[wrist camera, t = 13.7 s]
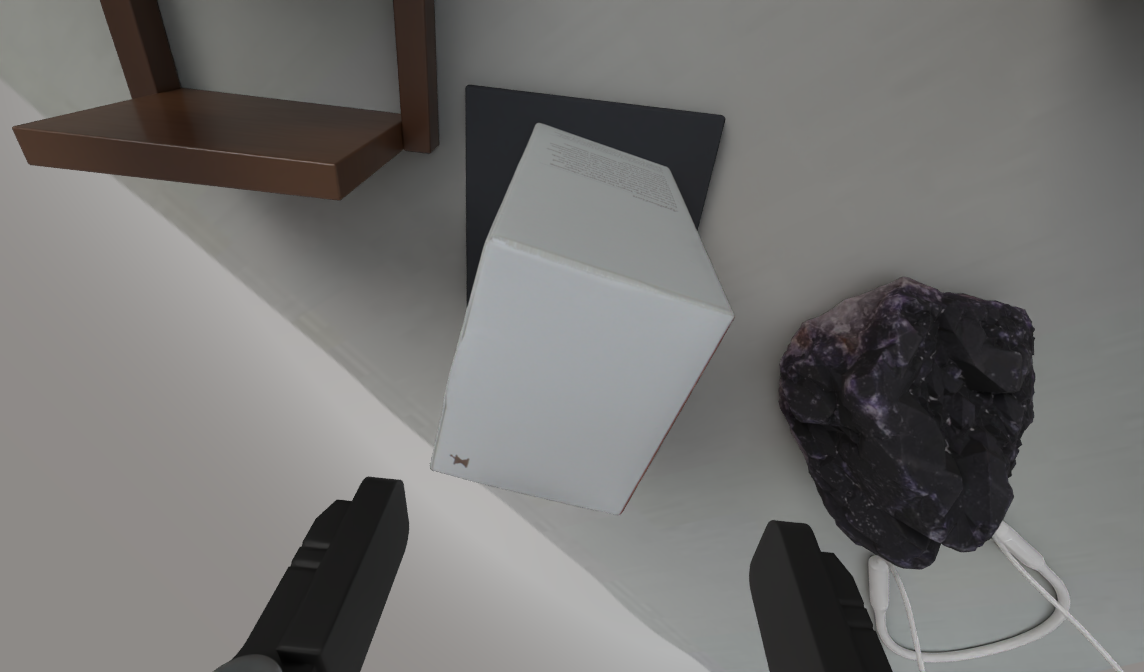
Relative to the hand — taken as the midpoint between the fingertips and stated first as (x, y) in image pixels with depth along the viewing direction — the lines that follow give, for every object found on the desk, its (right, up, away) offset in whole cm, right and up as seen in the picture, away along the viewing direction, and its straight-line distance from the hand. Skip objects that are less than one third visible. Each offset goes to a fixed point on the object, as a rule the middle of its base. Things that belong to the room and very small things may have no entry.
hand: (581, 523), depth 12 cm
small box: (0, +9, +14) cm, 17 cm away
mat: (0, +10, +14) cm, 17 cm away
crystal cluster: (+17, +2, +18) cm, 25 cm away
